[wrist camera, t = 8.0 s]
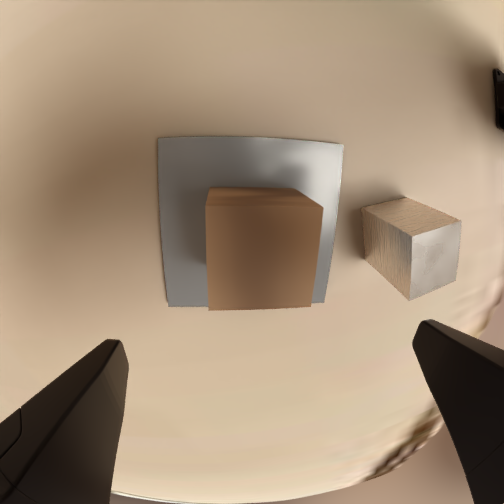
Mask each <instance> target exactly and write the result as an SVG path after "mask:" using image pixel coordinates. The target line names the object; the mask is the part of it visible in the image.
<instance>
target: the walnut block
mask: <svg viewBox="0 0 504 504" xmlns="http://www.w3.org/2000/svg"><path fill="white" fill-rule="evenodd" d="M323 210H324V207H322V206H321V205H319V204H318V203H316V202H315V201H313V200H312V199H310V198H309V197H307V196H306V195H304V194H303V193H301V192H300V191H298V190H296V189H295V188H269V187H210V188H209V192H208V197H207V201H206V205H205V213H206V259H207V286H208V307H209V310H254V309H279V308H298V307H311V302H312V295H313V289H314V282H315V275H316V268H317V261H318V253H319V245H320V237H321V228H322V219H323Z"/></svg>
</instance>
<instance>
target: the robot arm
mask: <svg viewBox="0 0 504 504" xmlns="http://www.w3.org/2000/svg"><path fill="white" fill-rule="evenodd" d="M493 73H494V83H495V97H496V125H497V127H498V128H499V129H500V130H502V131H504V73H502V72H501V71H500V70H499V69H494V70H493ZM412 346H413V349H414V352H415V354H416V357H417V359H418V362H419V364H420V367H421V369H422V372H423V374H424V377H425V380H426V382H427V384H428V387H429V389H430V391H431V393H432V395H433V397H434V399H435V401H436V404H437V406H438V408H439V410H440V412H441V415H442V417H443V419H444V421H445V424H446V426H447V428H448V431H449V433H450V435H451V438H452V440H453V443H454V445H455V448H456V450H457V453H458V456H459V458H460V461H461V464H462V466H463V469H464V472H465V475H466V479H467V482H468V485H469V488H470V491H471V495H472V498H473V501H474V504H503V503H504V350H502V349H500V348H497V347H495V346H493V345H490V344H488V343H485V342H483V341H481V340H479V339H477V338H474V337H472V336H470V335H467V334H465V333H463V332H460V331H458V330H456V329H453V328H451V327H449V326H446V325H444V324H442V323H439V322H437V321H435V320H432V319H429V320H424V321H422V322H421V323H420V324H419V326H418V329H417V331H416V334H415V336H414V339H413V342H412ZM128 371H129V364H128V360H127V357H126V353H125V350H124V347H123V344H122V342H121V341H120V340H115V339H106V340H105V341H103V342H102V343H101V344H100V345H98V346H97V347H96V348H94V349H93V350H92V351H90V352H89V353H88V354H87V355H85V356H84V357H83V358H81V359H80V360H79V361H78V362H76V363H75V364H74V365H73V366H71V367H70V368H69V369H67V370H66V371H65V372H64V373H62V374H61V375H60V376H59V377H57V378H56V379H55V380H54V381H52V382H51V383H50V384H49V385H47V386H46V387H45V388H43V389H42V390H41V391H40V392H39V393H37V394H36V395H35V396H34V397H32V398H31V399H30V400H29V401H27V402H26V403H25V404H24V405H22V406H21V408H19V409H17V410H16V411H15V412H14V413H12V414H11V415H10V416H9V417H7V418H6V419H5V420H4V421H2V422H1V423H0V504H109V502H110V494H111V486H112V479H113V472H114V466H115V459H116V454H117V448H118V442H119V437H120V432H121V427H122V422H123V416H124V408H125V397H126V388H127V379H128Z"/></svg>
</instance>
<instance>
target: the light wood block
mask: <svg viewBox="0 0 504 504" xmlns="http://www.w3.org/2000/svg"><path fill="white" fill-rule="evenodd" d="M361 213H362V223H363V236H364V251H365V260H366V261H367V262H368V263H369V264H370V265H371V266H373V267H374V268H375V269H376V270H377V271H378V272H379V273H380V274H381V275H382V276H383V277H385V278H386V279H387V280H388V281H389V282H390V283H391V284H392V285H393V286H394V287H395V288H396V289H397V290H398V291H399V292H400V293H401V294H402V295H403V296H405V297H406V298H407V299H408V300H409V301H410V300H413V299H415V298H417V297H420V296H422V295H425V294H427V293H429V292H431V291H434V290H436V289H438V288H441V287H443V286H445V285H447V284H449V283H451V282H454V281H456V275H457V267H458V259H459V249H460V237H461V220H458V219H456V218H454V217H452V216H450V215H447V214H445V213H443V212H441V211H438V210H436V209H434V208H431V207H429V206H426V205H424V204H422V203H419V202H417V201H414V200H412V199H409V198H406V197H405V198H401V199H397V200H392V201H388V202H383V203H379V204H375V205H370V206H366V207H362V208H361Z"/></svg>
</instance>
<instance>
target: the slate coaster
mask: <svg viewBox="0 0 504 504" xmlns="http://www.w3.org/2000/svg"><path fill="white" fill-rule="evenodd" d="M343 147H344V145H341V144H334V143H325V142H316V141H306V140H295V139H282V138H265V137H237V136H196V137H169V138H158V184H159V209H160V226H161V240H162V252H163V263H164V273H165V282H166V291H167V299H168V307H208V286H207V259H206V213H205V205H206V201H207V197H208V192H209V188H210V187H269V188H295V189H296V190H298V191H300V192H301V193H303V194H304V195H306V196H307V197H309V198H310V199H312V200H313V201H315V202H316V203H318V204H319V205H321V206H322V207H324V210H323V219H322V228H321V237H320V245H319V253H318V261H317V268H316V275H315V282H314V289H313V295H312V302H311V303H324V300H325V294H326V288H327V283H328V277H329V271H330V264H331V258H332V251H333V244H334V237H335V229H336V221H337V213H338V204H339V195H340V185H341V174H342V162H343Z"/></svg>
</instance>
